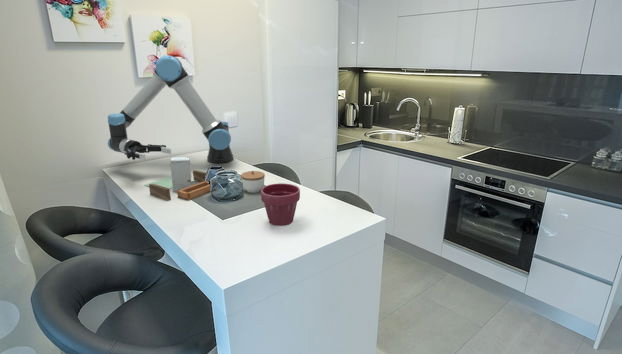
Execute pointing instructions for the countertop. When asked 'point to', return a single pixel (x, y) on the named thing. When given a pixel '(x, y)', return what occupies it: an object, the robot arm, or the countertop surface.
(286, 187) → the plant pot
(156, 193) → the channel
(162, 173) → the countertop surface
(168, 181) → the pad
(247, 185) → the lidded jar
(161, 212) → the countertop surface
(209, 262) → the countertop surface
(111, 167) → the countertop surface
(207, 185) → the brown rectangular tray
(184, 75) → the robot arm
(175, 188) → the skincare box
